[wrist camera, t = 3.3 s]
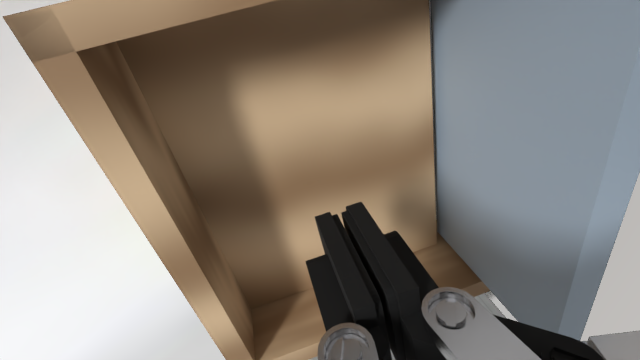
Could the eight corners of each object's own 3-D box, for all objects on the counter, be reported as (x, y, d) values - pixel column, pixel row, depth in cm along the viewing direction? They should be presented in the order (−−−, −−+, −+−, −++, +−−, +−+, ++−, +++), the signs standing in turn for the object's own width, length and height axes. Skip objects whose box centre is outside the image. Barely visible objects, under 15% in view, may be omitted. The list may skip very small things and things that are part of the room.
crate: (83, 8, 12) (2, 16, 7) (440, -79, 13) (545, -114, 9) (238, 301, 20) (242, 384, 16) (444, 229, 21) (499, 287, 17)
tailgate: (429, -35, 12) (673, -69, 6) (467, -45, 13) (747, -89, 6) (437, 231, 19) (550, 357, 13) (461, 222, 20) (586, 342, 13)
